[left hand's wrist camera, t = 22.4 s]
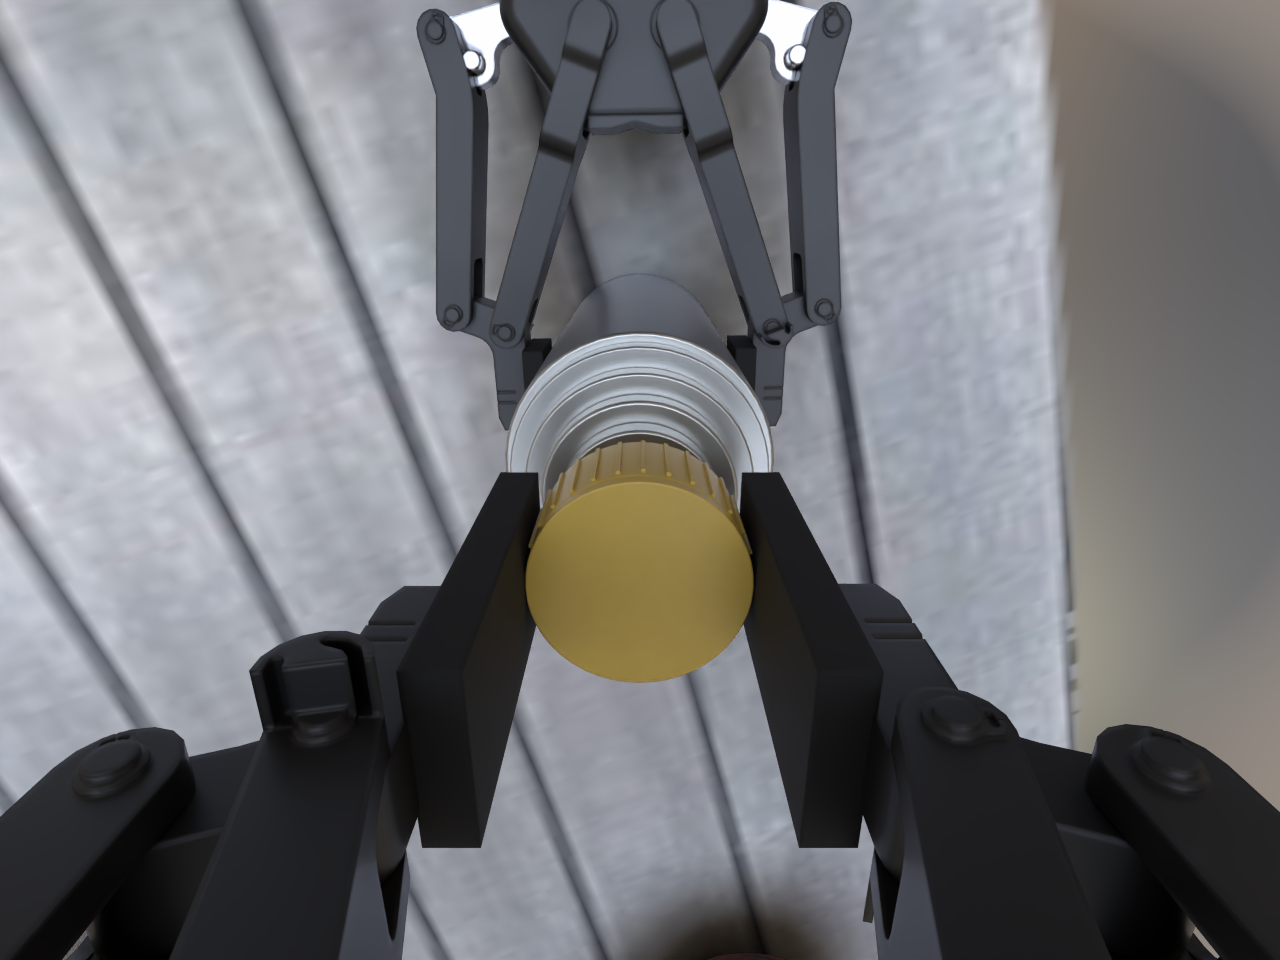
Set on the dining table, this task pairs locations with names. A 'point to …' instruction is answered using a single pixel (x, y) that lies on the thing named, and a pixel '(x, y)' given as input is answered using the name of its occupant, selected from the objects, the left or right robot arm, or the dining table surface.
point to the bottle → (639, 388)
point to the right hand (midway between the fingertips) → (641, 501)
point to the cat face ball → (745, 957)
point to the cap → (639, 564)
